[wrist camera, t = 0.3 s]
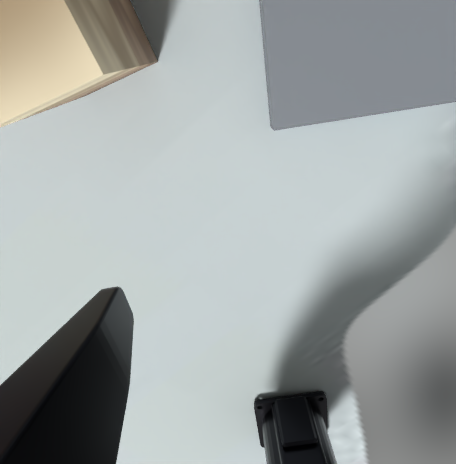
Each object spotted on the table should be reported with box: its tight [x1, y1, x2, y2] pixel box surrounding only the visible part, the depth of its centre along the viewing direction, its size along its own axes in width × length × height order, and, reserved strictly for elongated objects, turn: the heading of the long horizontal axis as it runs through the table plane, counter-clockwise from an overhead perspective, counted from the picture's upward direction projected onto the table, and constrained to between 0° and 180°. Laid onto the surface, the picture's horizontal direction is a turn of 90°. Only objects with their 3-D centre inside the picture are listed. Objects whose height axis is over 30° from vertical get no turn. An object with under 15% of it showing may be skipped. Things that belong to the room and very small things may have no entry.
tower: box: [0, 0, 158, 127], centre depth 14 cm, size 4×4×11 cm
